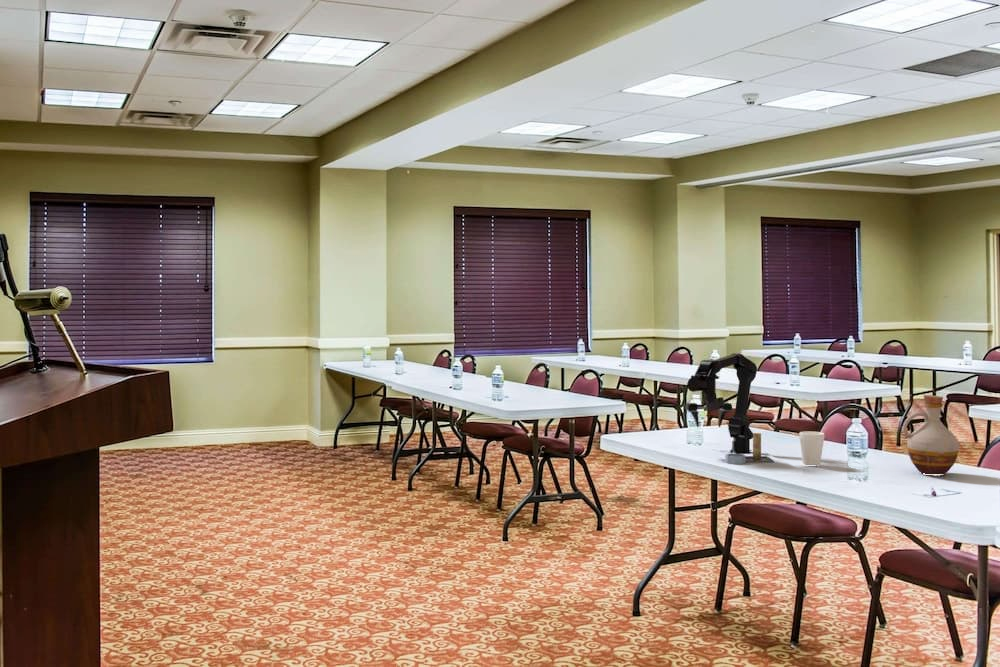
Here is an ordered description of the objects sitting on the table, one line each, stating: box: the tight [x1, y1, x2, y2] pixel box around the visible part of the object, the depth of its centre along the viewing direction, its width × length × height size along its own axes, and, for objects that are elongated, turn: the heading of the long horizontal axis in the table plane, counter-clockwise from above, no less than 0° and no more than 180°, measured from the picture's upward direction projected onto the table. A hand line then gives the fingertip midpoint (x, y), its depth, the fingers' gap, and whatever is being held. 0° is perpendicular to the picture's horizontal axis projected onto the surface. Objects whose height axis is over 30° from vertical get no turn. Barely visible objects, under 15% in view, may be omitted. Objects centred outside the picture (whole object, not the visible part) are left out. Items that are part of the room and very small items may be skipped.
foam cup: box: [798, 430, 825, 466], centre depth 366 cm, size 10×9×13 cm
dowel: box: [752, 432, 762, 460], centre depth 373 cm, size 3×3×11 cm
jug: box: [902, 394, 960, 475], centre depth 346 cm, size 20×18×30 cm
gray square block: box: [725, 453, 746, 465], centre depth 369 cm, size 7×7×4 cm
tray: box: [745, 455, 775, 464], centre depth 373 cm, size 10×11×2 cm
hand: (708, 427), depth 385 cm, fingers open, 9 cm apart
